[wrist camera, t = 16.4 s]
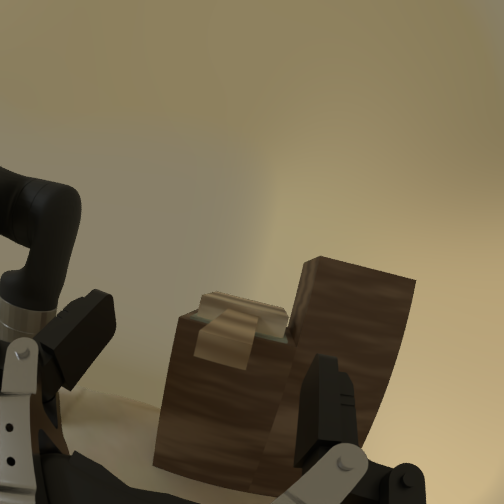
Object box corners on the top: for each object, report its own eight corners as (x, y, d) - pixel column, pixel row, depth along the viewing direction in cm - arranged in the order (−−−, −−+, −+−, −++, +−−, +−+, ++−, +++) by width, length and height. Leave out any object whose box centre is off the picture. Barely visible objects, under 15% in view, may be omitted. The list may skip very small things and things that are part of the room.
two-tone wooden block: (332, 501, 27) (416, 280, 29) (152, 465, 28) (201, 227, 31) (319, 454, 40) (375, 280, 42) (179, 424, 42) (220, 242, 44)
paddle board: (294, 381, 17) (304, 345, 17) (148, 341, 18) (155, 306, 18) (279, 324, 41) (283, 307, 41) (212, 307, 42) (216, 291, 42)
